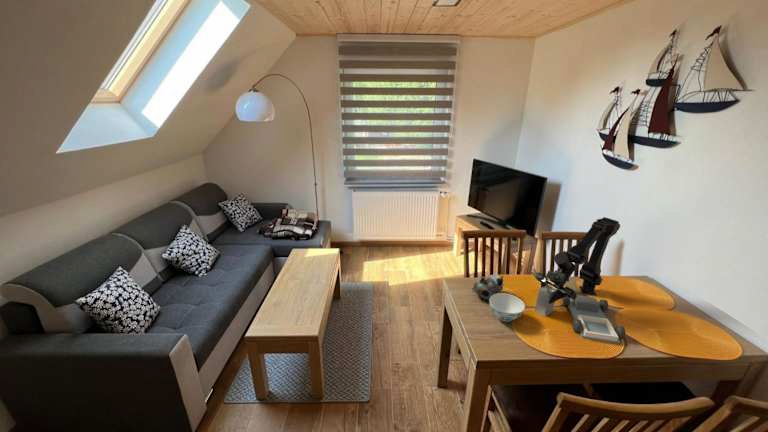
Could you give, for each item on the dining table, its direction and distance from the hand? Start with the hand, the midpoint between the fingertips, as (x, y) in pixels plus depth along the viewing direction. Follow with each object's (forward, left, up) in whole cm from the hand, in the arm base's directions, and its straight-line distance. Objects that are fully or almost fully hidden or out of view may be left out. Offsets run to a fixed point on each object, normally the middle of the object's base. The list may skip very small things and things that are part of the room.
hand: (544, 300), depth 151 cm
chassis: (0, +20, -7) cm, 21 cm away
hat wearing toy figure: (-23, +11, -7) cm, 26 cm away
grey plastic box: (-1, +1, -7) cm, 7 cm away
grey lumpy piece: (-9, -24, -7) cm, 27 cm away
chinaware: (+8, -17, -7) cm, 20 cm away
